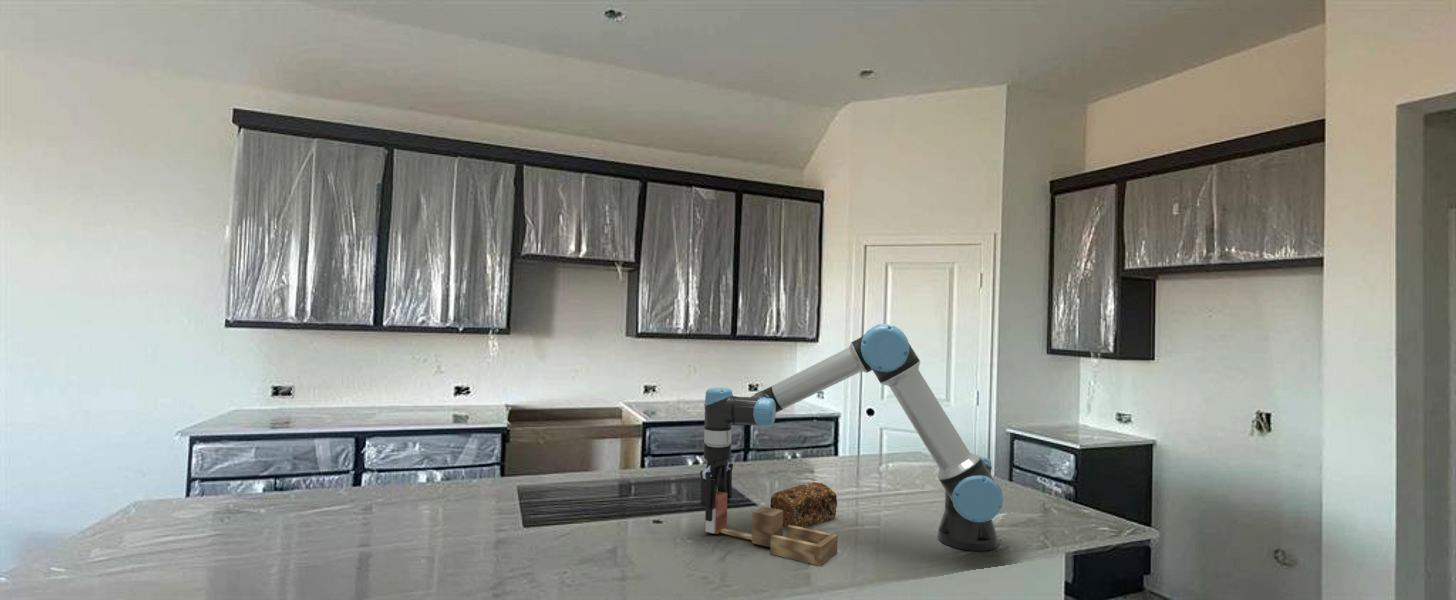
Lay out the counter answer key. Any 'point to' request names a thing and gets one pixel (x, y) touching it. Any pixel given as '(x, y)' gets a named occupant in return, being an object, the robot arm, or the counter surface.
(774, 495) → the bread
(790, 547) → the frame
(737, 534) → the tethered block
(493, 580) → the counter surface
